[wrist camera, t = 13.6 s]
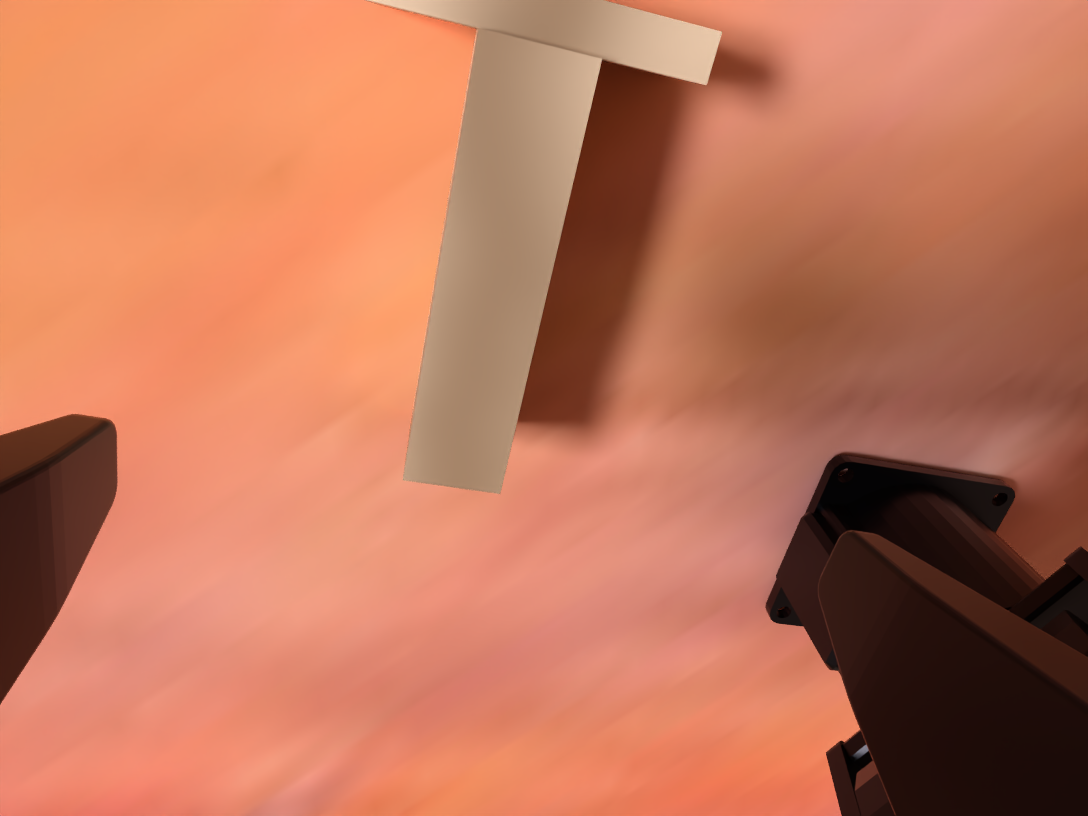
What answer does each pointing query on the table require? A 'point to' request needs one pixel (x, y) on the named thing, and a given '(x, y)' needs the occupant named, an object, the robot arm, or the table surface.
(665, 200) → the table surface
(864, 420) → the table surface
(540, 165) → the pusher
